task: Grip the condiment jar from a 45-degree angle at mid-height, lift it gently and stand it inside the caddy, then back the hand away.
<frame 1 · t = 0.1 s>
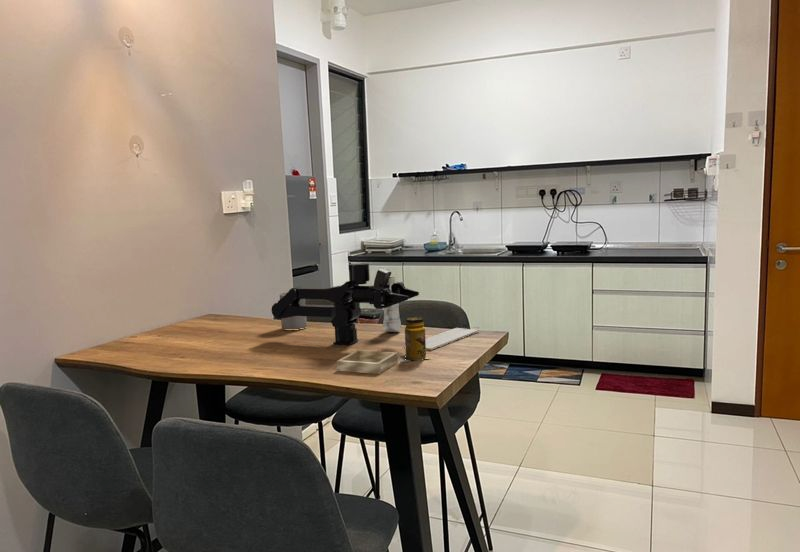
hand: (413, 295, 189), 17 cm above the table, tool horizontal, fingers open, 9 cm apart
condiment: (413, 358, 176), on the table
caddy: (368, 366, 169), on the table
pillar candle: (294, 329, 230), on the table
baseboard molding: (441, 341, 200), on the table
plastic bottle: (392, 332, 215), on the table
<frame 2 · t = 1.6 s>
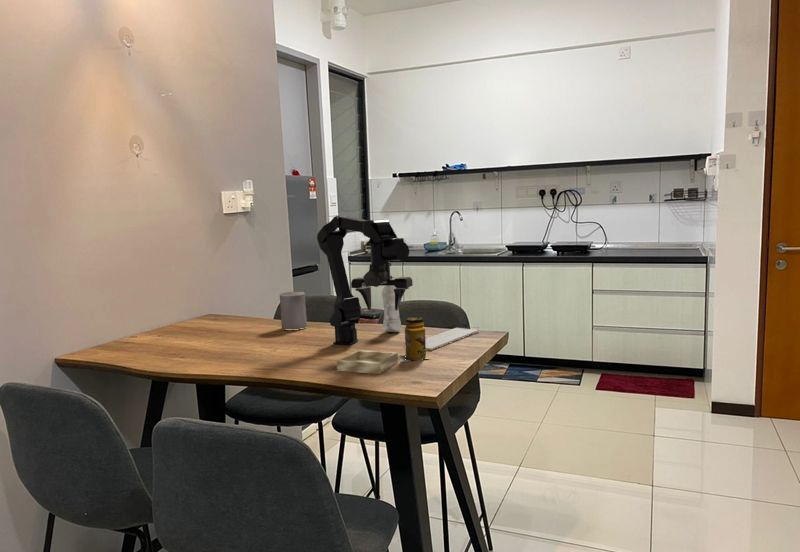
hand: (382, 310, 185), 13 cm above the table, tool pointing down, fingers open, 9 cm apart
nothing on the table moved.
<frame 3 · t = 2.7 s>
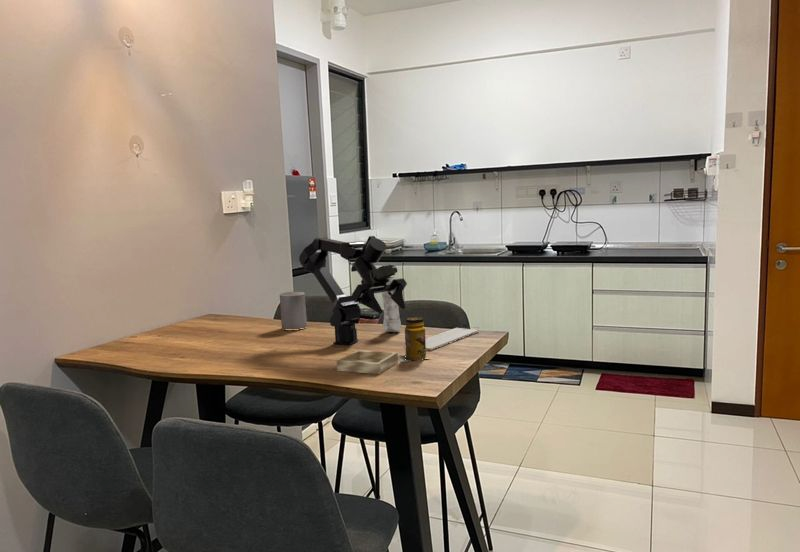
hand: (393, 310, 181), 13 cm above the table, tool tilted 45°, fingers open, 9 cm apart
nothing on the table moved.
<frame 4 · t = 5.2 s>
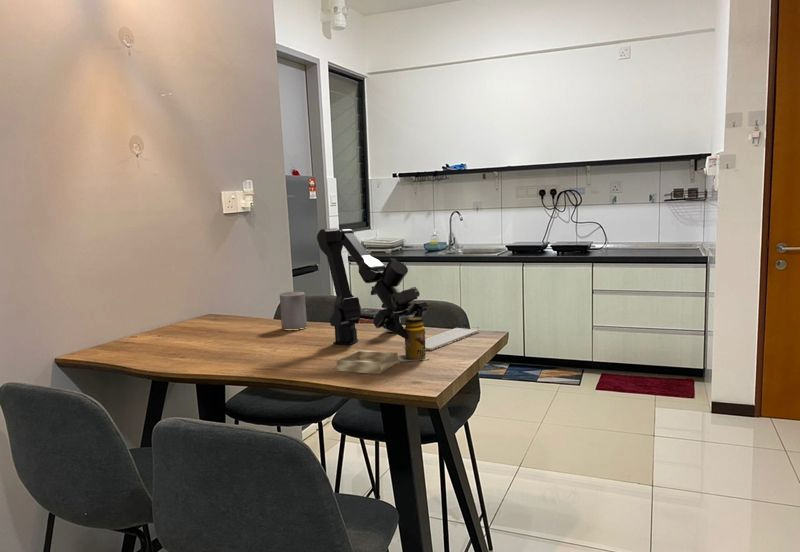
hand: (416, 336, 175), 7 cm above the table, tool tilted 45°, fingers open, 6 cm apart
condiment: (412, 358, 176), on the table, touching gripper
everything else where it was.
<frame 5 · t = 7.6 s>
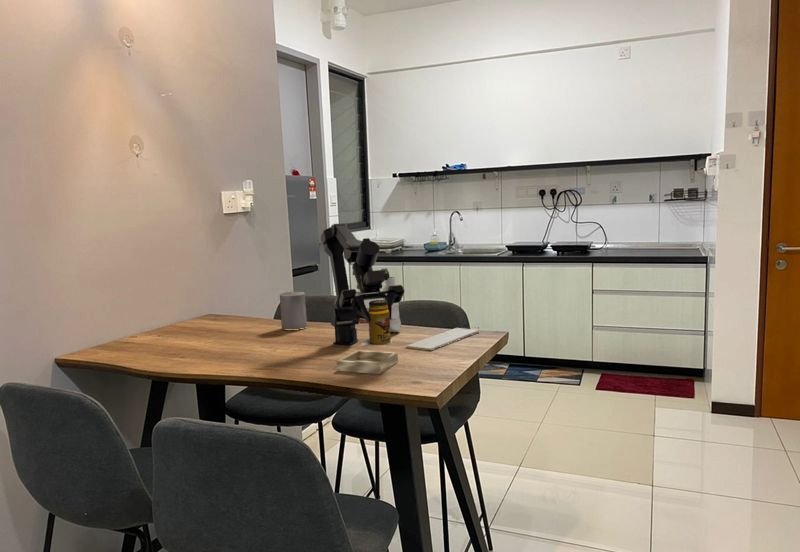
hand: (379, 319, 167), 13 cm above the table, tool tilted 45°, fingers closed on condiment, 6 cm apart
condiment: (377, 343, 169), point 6 cm above the table, touching gripper
everything else where it was.
when the fingers open (8 cm above the table, at t = 9.6 s): condiment stays where it is, resting on caddy.
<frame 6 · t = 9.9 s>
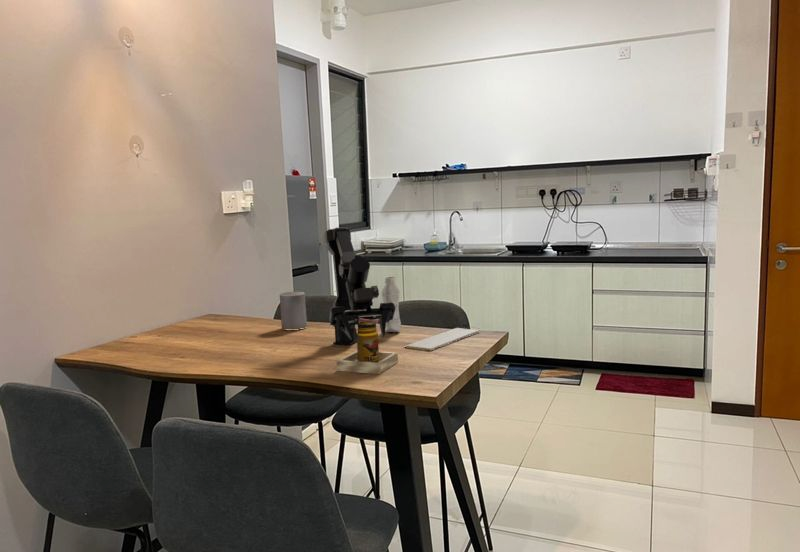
hand: (368, 337, 167), 9 cm above the table, tool tilted 45°, fingers open, 9 cm apart
condiment: (365, 365, 169), resting on caddy
everything else where it was.
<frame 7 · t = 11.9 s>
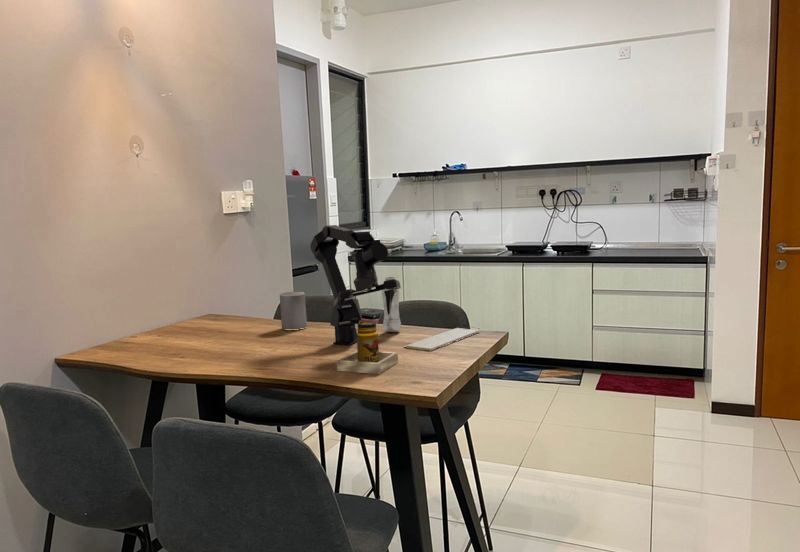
hand: (375, 317, 183), 11 cm above the table, tool tilted 15°, fingers open, 9 cm apart
nothing on the table moved.
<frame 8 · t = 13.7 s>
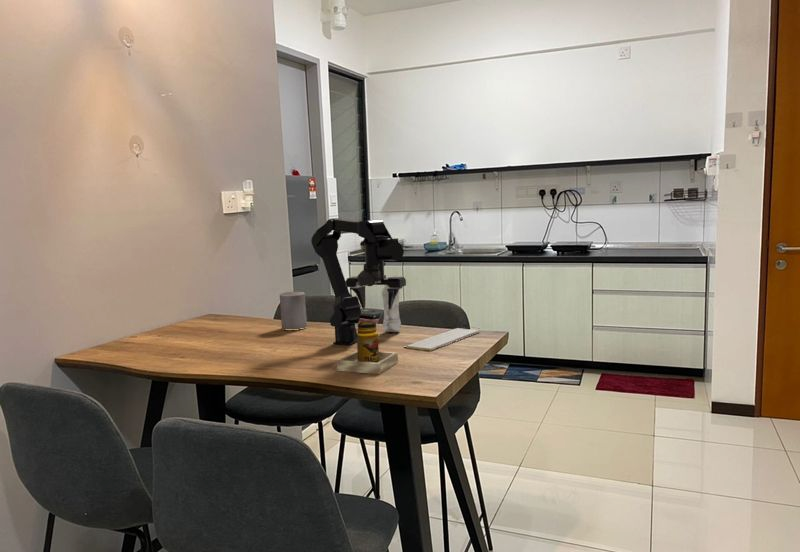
hand: (376, 309, 188), 13 cm above the table, tool pointing down, fingers open, 9 cm apart
nothing on the table moved.
at the end: condiment inside the target area on the caddy (0.6 cm from its centre), point 0.4 cm above the caddy's base; condiment tilted 0°; the gripper is holding nothing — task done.
